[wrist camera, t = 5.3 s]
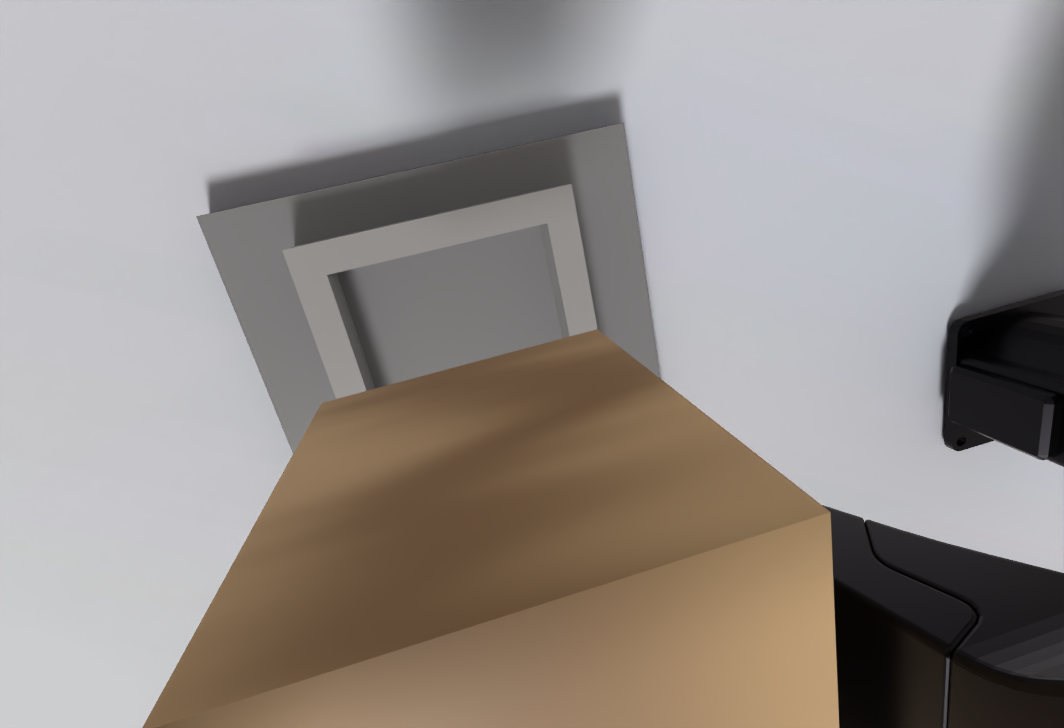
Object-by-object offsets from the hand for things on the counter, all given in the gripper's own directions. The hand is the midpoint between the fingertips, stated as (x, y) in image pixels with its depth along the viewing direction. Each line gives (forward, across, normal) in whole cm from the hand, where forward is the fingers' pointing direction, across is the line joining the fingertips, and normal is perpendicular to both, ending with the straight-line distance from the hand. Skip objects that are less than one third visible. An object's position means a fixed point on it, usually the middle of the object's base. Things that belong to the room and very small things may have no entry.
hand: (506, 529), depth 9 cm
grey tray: (+12, 0, 0) cm, 12 cm away
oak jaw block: (+2, 0, 0) cm, 2 cm away
